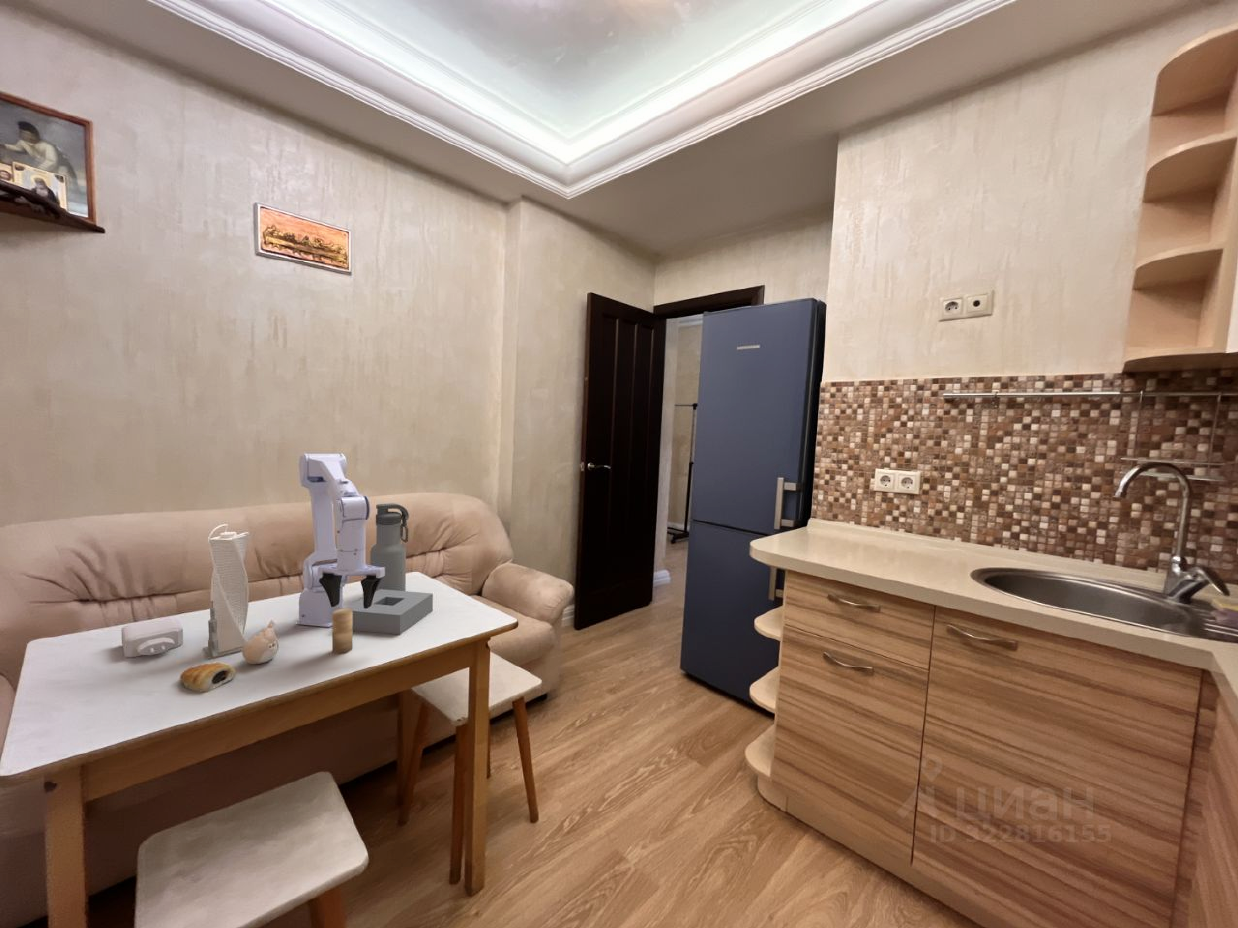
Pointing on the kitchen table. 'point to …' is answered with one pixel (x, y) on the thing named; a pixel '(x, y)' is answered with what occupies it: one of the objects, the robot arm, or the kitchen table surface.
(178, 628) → the charger
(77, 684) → the kitchen table surface
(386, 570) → the water bottle
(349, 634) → the peg
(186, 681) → the pastry
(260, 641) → the beige rounded figure
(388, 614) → the socket block
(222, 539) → the skyscraper
